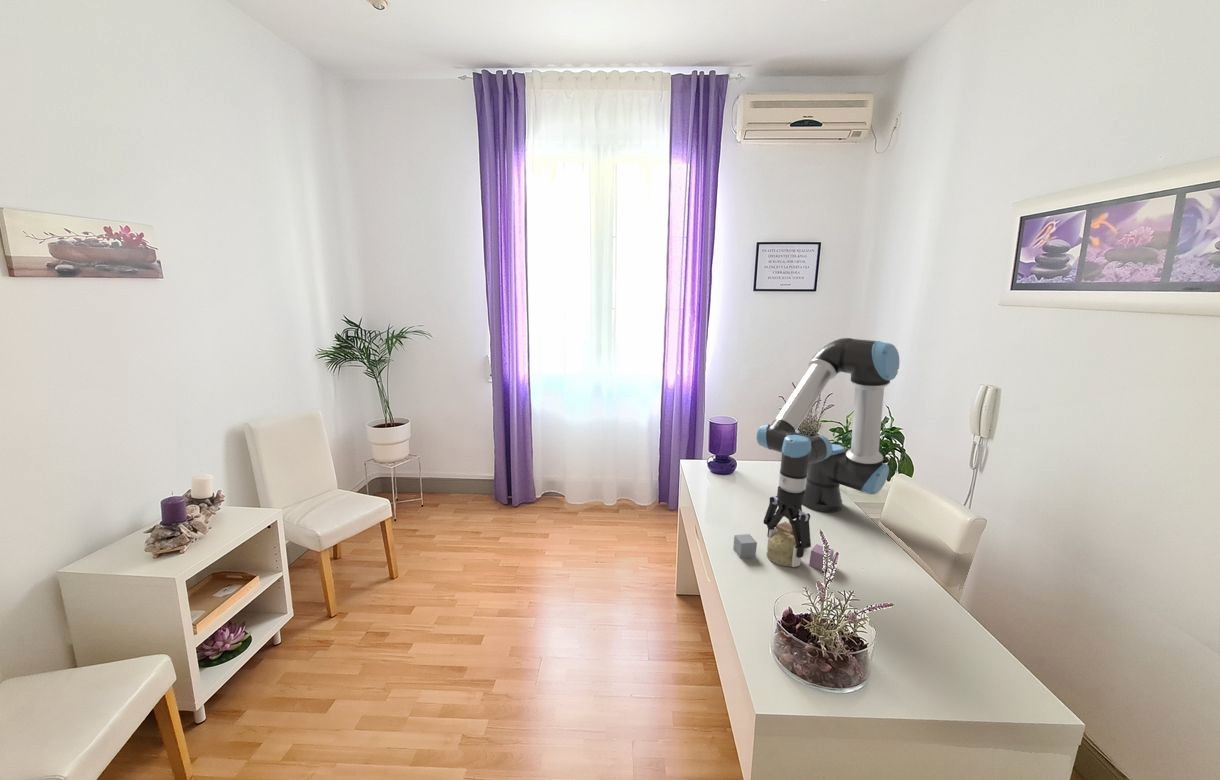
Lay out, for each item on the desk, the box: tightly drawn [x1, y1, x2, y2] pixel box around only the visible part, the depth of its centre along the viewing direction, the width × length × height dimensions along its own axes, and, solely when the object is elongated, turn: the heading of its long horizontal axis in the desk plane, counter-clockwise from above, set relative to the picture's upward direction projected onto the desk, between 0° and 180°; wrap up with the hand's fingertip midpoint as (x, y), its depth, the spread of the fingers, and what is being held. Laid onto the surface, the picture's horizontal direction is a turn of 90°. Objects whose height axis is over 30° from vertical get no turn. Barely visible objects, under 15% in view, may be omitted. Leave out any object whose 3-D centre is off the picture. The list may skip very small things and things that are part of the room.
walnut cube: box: [775, 521, 794, 536], centre depth 160 cm, size 5×5×5 cm
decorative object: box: [766, 532, 796, 567], centre depth 149 cm, size 9×10×10 cm
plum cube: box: [808, 543, 835, 571], centre depth 146 cm, size 5×5×5 cm
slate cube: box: [732, 533, 758, 559], centre depth 152 cm, size 5×5×5 cm
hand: (783, 556), depth 150 cm, fingers closed on decorative object, 9 cm apart
